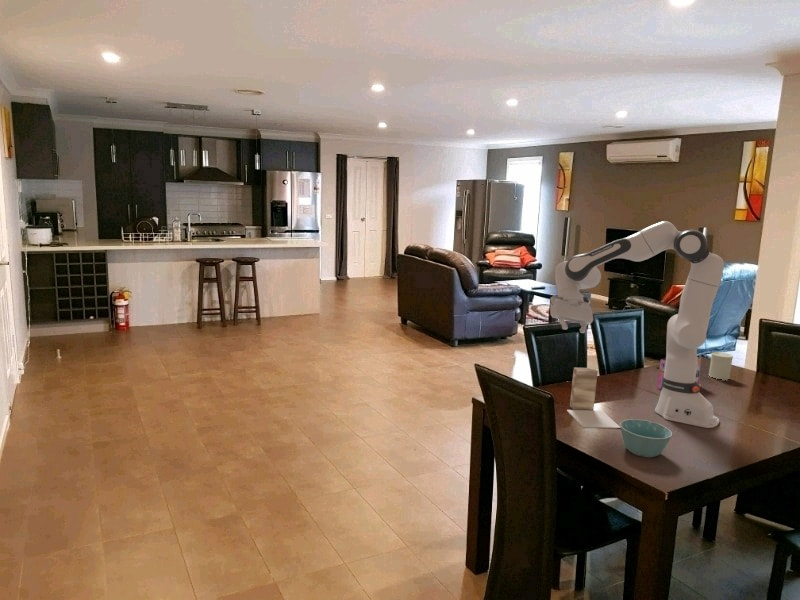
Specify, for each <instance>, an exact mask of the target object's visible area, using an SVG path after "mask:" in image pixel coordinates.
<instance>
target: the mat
mask: <svg viewBox="0 0 800 600" xmlns="http://www.w3.org/2000/svg"><path fill="white" fill-rule="evenodd" d="M566 412H567V413H568V414H569V415H570V416H571V417H572V418H573V419H574V420H575V421H576V423H578V425H580V426H581V427H582V428H583V429H617V428H621V427H620V424H617V423H616V422H615V421H614V420H613V419H612V418H611V417H610V416H609V415H607V414H606V413H605V412H604V411H603V410H594V409H593V410H573V409H566Z"/></svg>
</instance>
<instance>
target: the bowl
mask: <svg viewBox="0 0 800 600" xmlns="http://www.w3.org/2000/svg"><path fill="white" fill-rule="evenodd" d="M619 426H620V427H621V429H620V430H621V431H620V432H621V436H622V438H623V439H622V440H623V444H624V446H625V448H626V449H627V450H628V451H629V452H630V453H632V454H633V455H636V456H639V457H643V458H655V457H657V456H660V455H661V454H662V453H663V451H664V449H666V446H667V445H668V443H669V441H670V440H671V439H672V436H673V432H672V431H671V430H670V429H669V428H668V427H666V426H664V425H663V424H660V423H659V422H653V421H651V420H646V419H638V418H637V419H636V418H633V419H632V418H630V419H629V418H628V419H623V420H622V421H621V422H620V423H619Z"/></svg>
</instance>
